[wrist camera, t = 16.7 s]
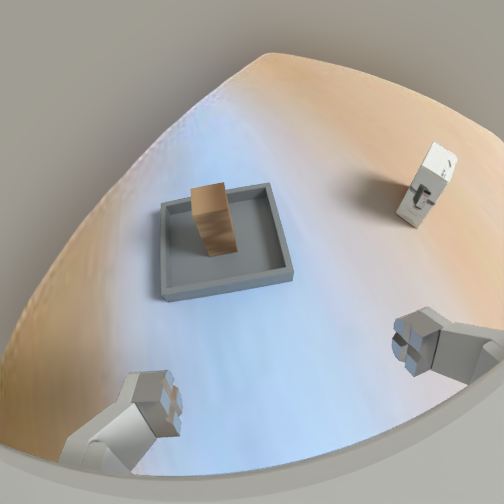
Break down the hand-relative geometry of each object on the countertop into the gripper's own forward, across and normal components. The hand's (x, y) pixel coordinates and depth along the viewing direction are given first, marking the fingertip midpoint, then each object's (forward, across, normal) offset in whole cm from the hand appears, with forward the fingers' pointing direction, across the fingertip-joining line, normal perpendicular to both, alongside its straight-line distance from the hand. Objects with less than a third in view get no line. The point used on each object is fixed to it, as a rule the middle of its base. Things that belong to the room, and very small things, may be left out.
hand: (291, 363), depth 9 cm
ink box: (+31, -31, +2) cm, 44 cm away
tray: (+32, +2, +3) cm, 32 cm away
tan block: (+32, +2, +3) cm, 32 cm away
